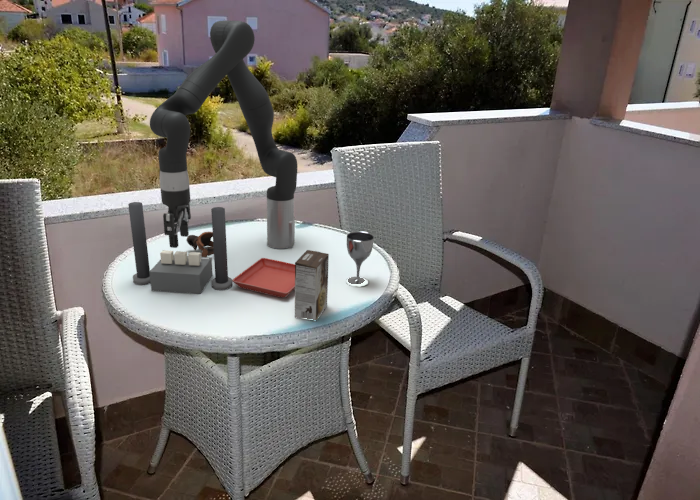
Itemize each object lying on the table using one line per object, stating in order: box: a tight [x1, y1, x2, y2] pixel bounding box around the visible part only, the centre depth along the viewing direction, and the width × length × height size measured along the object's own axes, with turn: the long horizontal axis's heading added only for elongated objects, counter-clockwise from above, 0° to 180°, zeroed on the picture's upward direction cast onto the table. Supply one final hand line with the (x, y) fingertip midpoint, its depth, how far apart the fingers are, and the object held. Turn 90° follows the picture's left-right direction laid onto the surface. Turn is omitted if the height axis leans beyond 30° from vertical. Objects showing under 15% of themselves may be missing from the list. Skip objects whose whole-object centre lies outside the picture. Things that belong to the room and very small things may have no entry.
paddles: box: [159, 249, 202, 266], centre depth 149 cm, size 12×2×3 cm, turn 88°
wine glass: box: [346, 231, 375, 284], centre depth 155 cm, size 8×8×15 cm
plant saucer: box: [232, 257, 295, 298], centre depth 154 cm, size 18×18×3 cm
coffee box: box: [294, 249, 330, 321], centre depth 137 cm, size 9×6×16 cm
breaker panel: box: [149, 255, 213, 295], centre depth 150 cm, size 14×12×6 cm
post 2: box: [210, 206, 234, 291], centre depth 147 cm, size 6×6×24 cm
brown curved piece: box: [185, 231, 214, 257], centre depth 171 cm, size 12×10×8 cm
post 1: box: [128, 201, 151, 286], centre depth 147 cm, size 6×6×24 cm
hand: (179, 241), depth 147 cm, fingers open, 8 cm apart
